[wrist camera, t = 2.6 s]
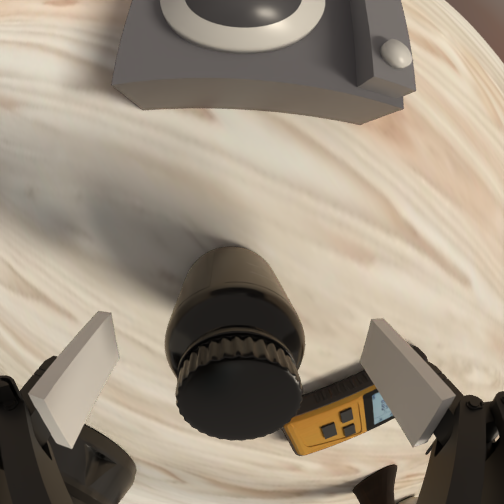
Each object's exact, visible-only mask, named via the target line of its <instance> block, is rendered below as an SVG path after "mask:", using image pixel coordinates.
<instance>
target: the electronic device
mask: <svg viewBox="0 0 504 504" xmlns="http://www.w3.org/2000/svg"><path fill="white" fill-rule="evenodd" d="M412 348H413V349H414V350H415V351H416V352H417V353H418V355H419V356H420V357H421V358H422V359H423V360H424V361H428V359H427V357H426V355H425V354H424V353H423V352H422V351H421V350H420V349H419V348H418V347H416V346H414V347H412ZM300 404H301V407H300V409H299V410H298V411H297V414H296V415H295V416H294V417H293V418H292V419H291V421H290V422H289V423H287V424H285V425H284V426H283V428H282V430H283V432H284V434H285V436H286V438H287V440H288V441H289V443H290V445H291V447H292V449H293V451H294V452H295V454H296V455H299V456H303V455H307V454H310V453H313V452H316V451H319V450H322V449H325V448H328V447H330V446H333V445H336V444H338V443H341V442H343V441H346V440H348V439H351V438H353V437H355V436H358V435H360V434H362V433H365V432H367V431H369V430H371V429H373V428H375V427H377V426H380V425H382V424H384V423H386V422H388V421H390V420H391V419H393V418H395V417H394V415H393V414H392V412H391V411H390V409H389V407H388V406H387V404H386V403H385V401H384V399H383V398H382V396H381V395H380V393H379V391H378V390H377V388H376V387H375V385H374V384H373V382H372V380H371V379H370V377H369V376H368V374H367V373H366V371H363V372H360V373H358V374H356V375H354V376H351V377H349V378H347V379H344V380H342V381H340V382H337V383H335V384H332V385H330V386H327V387H325V388H322V389H320V390H317V391H314V392H312V393H309V394H306V395H303V400H302V402H301V403H300Z"/></svg>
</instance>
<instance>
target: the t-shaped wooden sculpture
mask: <svg viewBox="0 0 504 504" xmlns="http://www.w3.org/2000/svg"><path fill="white" fill-rule="evenodd" d="M396 472H397V465H392V466H389V467H386V468H384V469H382V470H380V471H378V472H376V473H375V474H373V475H371V476H370V477H368V478H367V479H365V480H364V481H362V482H361V483H360V484H358V485H357V486H356V487H355V488H354V490H353V493H354V494H355V495H356V497H357V499H358V500H359V502H360V504H395V502H394V483H395V477H396Z"/></svg>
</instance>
